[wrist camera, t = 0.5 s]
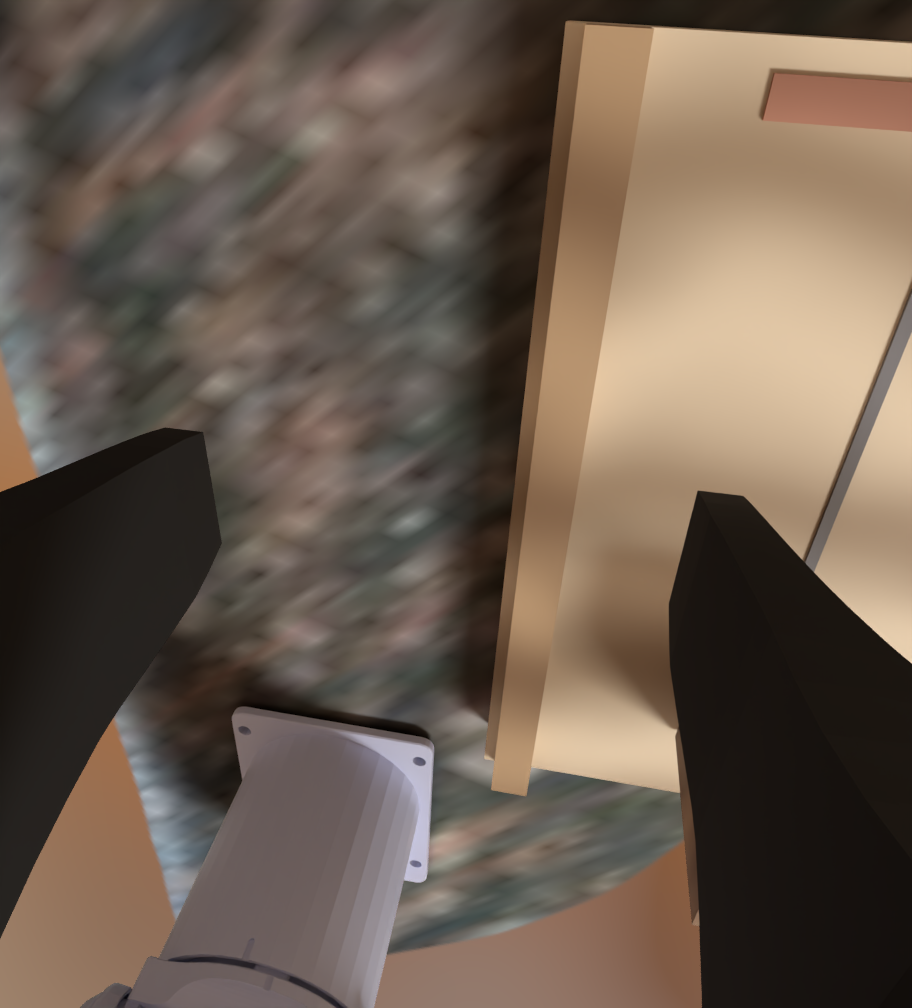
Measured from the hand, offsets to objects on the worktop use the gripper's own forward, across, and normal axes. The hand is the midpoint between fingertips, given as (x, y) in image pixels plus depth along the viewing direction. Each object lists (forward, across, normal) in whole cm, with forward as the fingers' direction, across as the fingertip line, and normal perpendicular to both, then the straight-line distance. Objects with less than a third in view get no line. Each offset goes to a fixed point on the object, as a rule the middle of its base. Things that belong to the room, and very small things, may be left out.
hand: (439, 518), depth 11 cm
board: (+10, -9, +5) cm, 14 cm away
